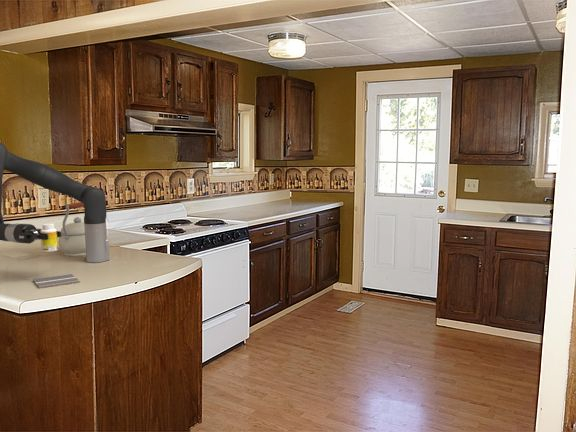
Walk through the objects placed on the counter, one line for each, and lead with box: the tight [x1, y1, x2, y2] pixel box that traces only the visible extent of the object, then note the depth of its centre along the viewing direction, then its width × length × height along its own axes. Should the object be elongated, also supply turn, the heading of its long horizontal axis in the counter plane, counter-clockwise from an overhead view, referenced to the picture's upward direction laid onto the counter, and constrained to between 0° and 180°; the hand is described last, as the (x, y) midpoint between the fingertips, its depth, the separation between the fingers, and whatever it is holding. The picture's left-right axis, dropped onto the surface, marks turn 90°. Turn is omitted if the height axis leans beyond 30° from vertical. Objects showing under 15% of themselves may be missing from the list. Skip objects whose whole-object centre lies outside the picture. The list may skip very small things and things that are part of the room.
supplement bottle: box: [40, 223, 59, 253], centre depth 194 cm, size 6×6×10 cm
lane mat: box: [32, 273, 81, 289], centre depth 195 cm, size 14×14×1 cm
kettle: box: [58, 201, 86, 257], centre depth 251 cm, size 25×18×25 cm
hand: (54, 235), depth 193 cm, fingers closed on supplement bottle, 5 cm apart
